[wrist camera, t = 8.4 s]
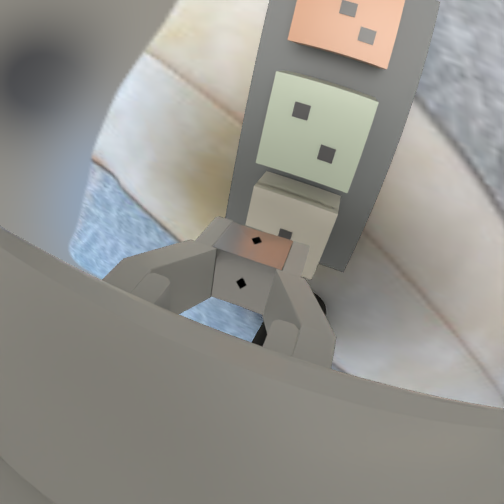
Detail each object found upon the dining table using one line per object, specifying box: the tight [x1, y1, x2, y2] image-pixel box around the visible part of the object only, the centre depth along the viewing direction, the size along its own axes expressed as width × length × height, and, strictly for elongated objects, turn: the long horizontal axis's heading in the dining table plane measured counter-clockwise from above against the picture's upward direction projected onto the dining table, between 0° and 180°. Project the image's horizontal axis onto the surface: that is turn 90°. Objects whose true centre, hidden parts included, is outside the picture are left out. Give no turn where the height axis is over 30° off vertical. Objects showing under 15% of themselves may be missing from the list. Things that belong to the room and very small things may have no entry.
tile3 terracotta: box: [288, 0, 405, 69], centre depth 12 cm, size 5×5×3 cm
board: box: [225, 0, 440, 272], centre depth 18 cm, size 21×10×2 cm, turn 168°
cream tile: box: [245, 171, 341, 280], centre depth 21 cm, size 5×5×3 cm
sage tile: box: [256, 71, 379, 193], centre depth 16 cm, size 5×5×3 cm
